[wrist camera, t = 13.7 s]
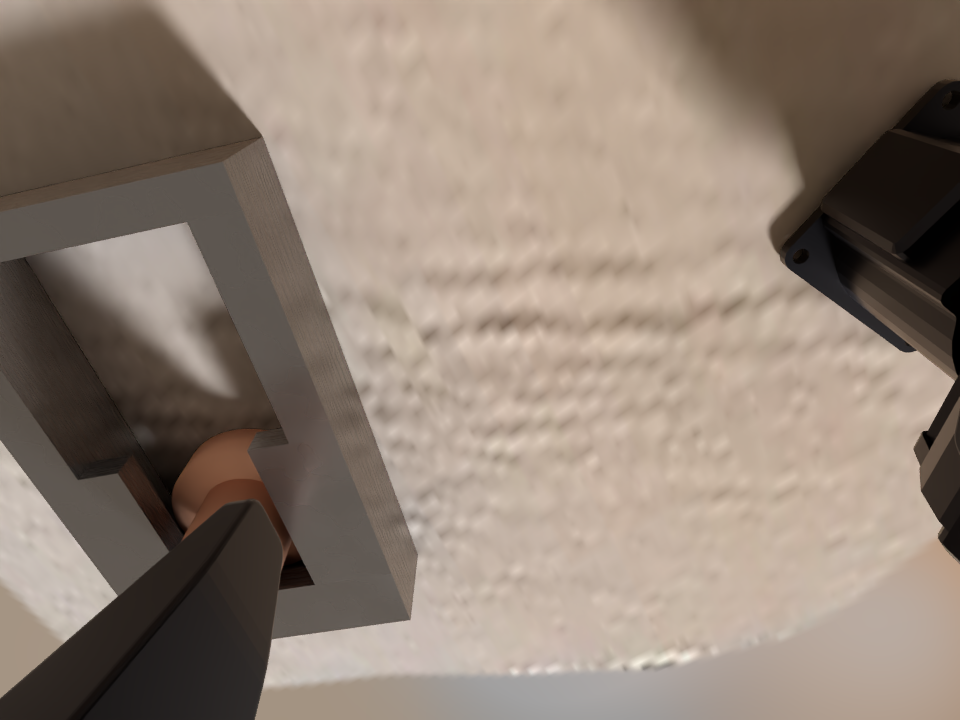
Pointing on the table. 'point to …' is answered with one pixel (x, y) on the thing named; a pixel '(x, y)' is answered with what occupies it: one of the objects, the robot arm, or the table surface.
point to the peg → (225, 485)
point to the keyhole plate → (274, 354)
